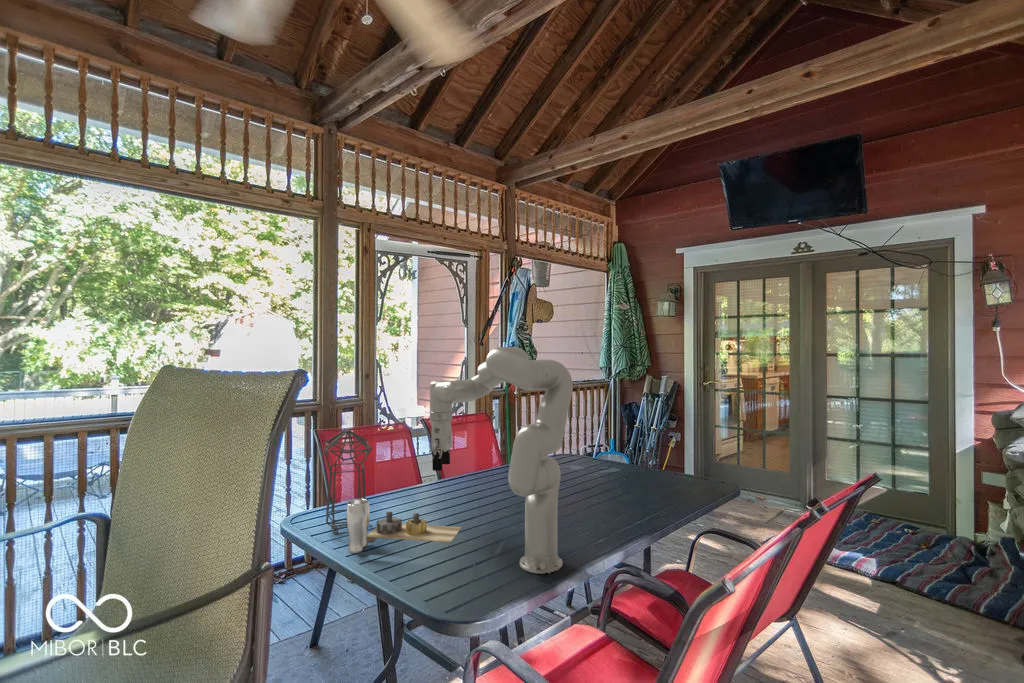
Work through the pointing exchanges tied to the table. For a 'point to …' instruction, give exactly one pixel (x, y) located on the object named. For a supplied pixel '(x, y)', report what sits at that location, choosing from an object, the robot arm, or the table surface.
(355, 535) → the beer glass
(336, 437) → the geometric lantern
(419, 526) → the brass gear
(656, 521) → the table surface
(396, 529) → the gear board
